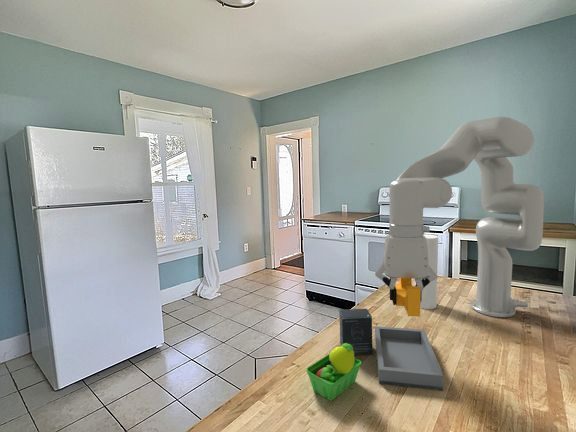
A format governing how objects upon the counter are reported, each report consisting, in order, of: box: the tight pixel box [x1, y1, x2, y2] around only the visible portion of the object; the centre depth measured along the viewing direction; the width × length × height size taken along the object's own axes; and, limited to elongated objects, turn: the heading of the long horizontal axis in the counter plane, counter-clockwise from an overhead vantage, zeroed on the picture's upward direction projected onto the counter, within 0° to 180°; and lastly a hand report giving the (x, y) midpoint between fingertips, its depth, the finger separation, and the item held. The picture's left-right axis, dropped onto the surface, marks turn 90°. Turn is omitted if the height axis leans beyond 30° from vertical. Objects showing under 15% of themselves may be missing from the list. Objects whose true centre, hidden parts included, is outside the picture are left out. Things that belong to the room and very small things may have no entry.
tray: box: [374, 325, 444, 392], centre depth 78 cm, size 13×20×4 cm, turn 167°
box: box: [339, 308, 374, 356], centre depth 83 cm, size 8×6×11 cm
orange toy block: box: [395, 278, 421, 318], centre depth 76 cm, size 12×4×6 cm, turn 169°
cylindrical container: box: [414, 233, 439, 310], centre depth 109 cm, size 7×7×25 cm
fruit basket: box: [305, 343, 362, 402], centre depth 69 cm, size 11×9×11 cm
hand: (405, 302), depth 77 cm, fingers closed on orange toy block, 4 cm apart
